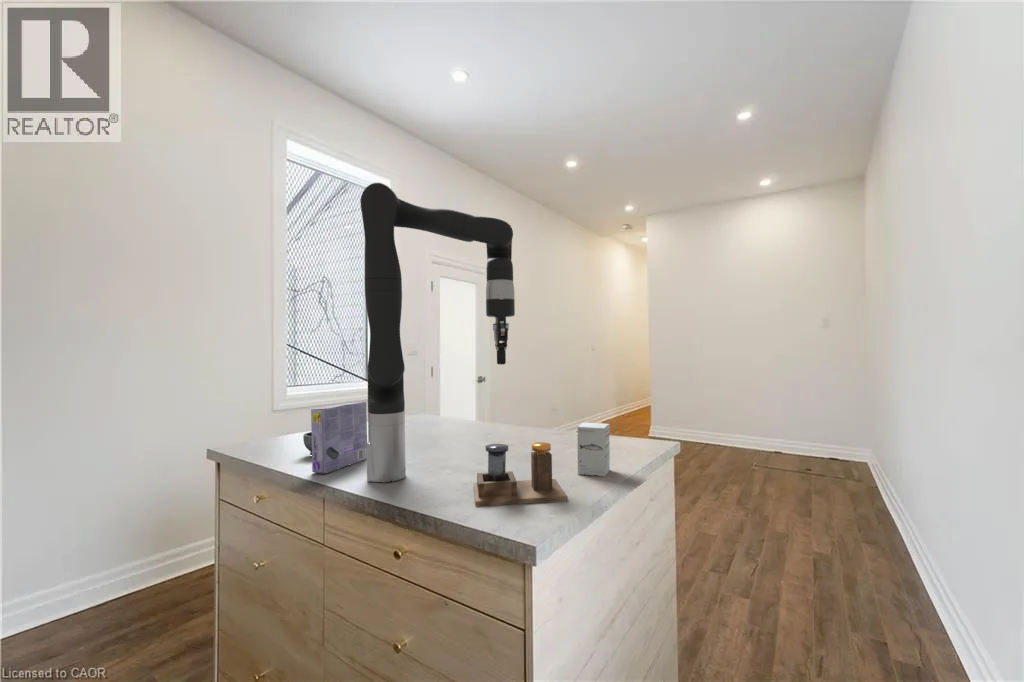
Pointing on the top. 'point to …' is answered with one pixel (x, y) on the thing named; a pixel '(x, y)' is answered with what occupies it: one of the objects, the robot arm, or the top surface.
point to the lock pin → (541, 447)
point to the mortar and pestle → (308, 441)
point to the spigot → (496, 462)
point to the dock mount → (521, 486)
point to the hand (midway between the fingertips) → (501, 364)
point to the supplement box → (593, 449)
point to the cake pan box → (338, 436)
